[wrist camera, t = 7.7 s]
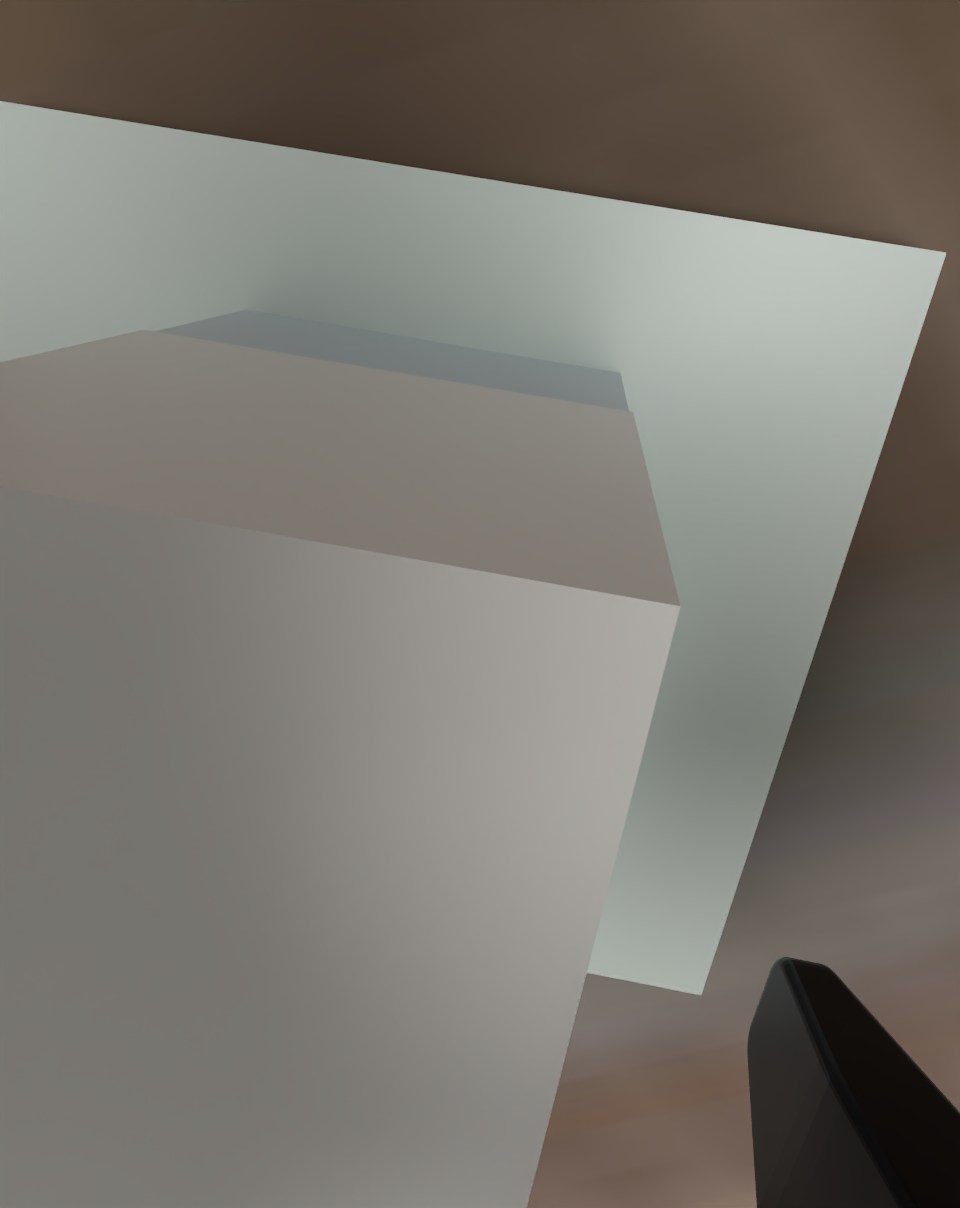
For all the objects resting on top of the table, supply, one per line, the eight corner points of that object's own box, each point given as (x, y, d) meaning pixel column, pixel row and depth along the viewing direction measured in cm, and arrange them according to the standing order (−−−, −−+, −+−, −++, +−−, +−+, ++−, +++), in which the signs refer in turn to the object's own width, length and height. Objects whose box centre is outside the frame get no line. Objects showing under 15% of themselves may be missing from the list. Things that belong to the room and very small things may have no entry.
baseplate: (918, 251, 12) (1069, 260, 8) (694, 952, 16) (725, 1161, 13) (24, 108, 12) (-217, 55, 9) (58, 827, 17) (-89, 994, 13)
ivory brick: (633, 411, 9) (680, 606, 4) (506, 1005, 12) (455, 1481, 8) (142, 329, 9) (-306, 431, 5) (144, 934, 12) (-119, 1352, 8)
